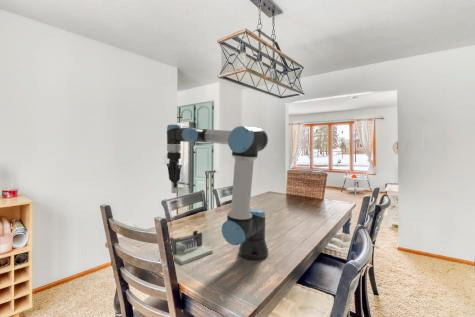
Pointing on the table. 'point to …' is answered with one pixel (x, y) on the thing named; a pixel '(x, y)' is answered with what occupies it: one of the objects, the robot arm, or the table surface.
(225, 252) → the table surface
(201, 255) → the board
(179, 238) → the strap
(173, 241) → the mounts
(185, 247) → the heatsink
